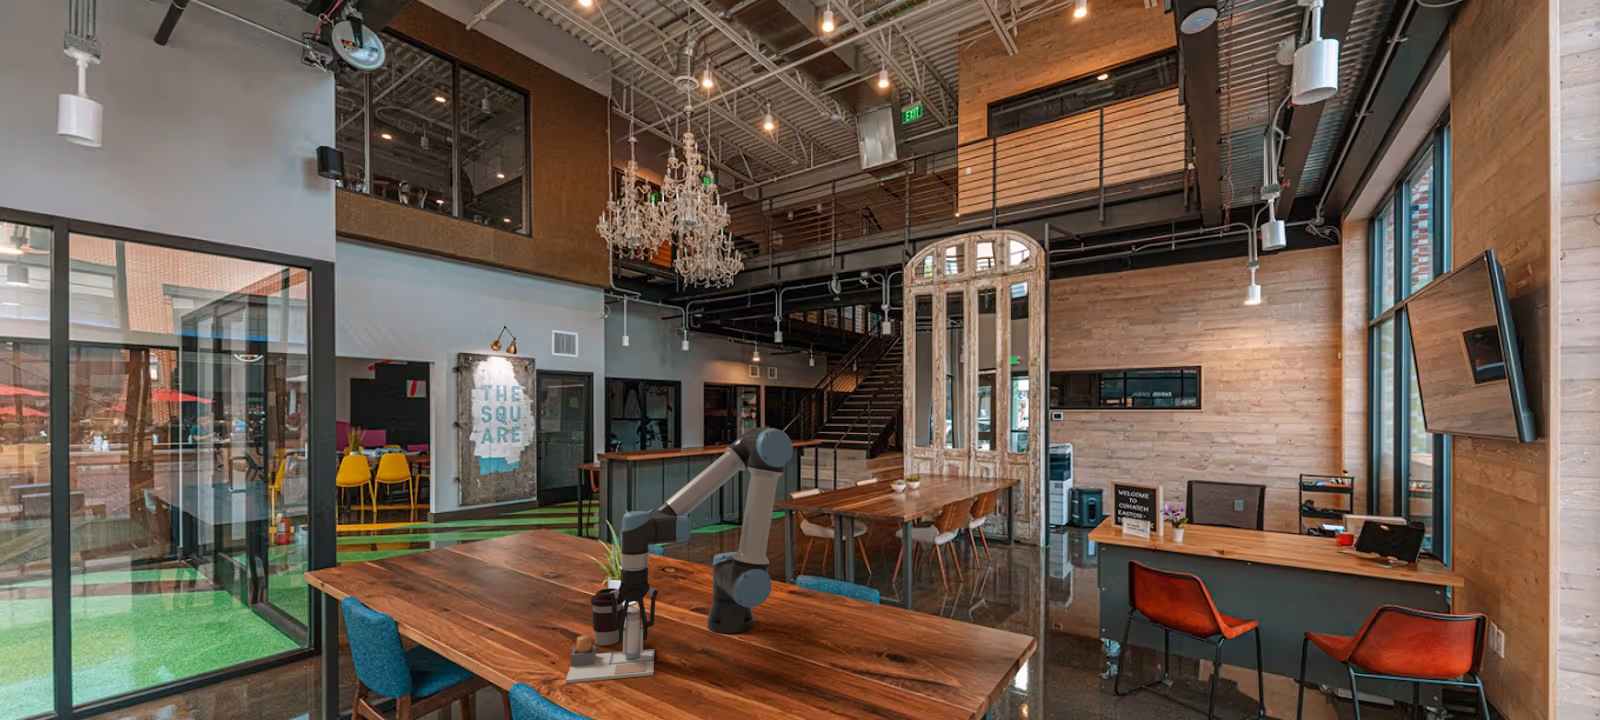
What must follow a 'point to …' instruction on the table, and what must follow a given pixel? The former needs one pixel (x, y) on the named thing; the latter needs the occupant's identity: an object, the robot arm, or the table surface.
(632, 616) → the cylinder
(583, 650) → the button
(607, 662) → the sheet board
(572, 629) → the table surface
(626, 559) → the robot arm
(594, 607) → the coffee cup
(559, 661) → the table surface
